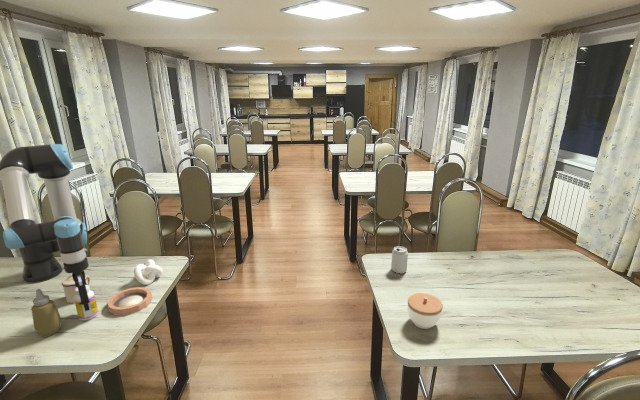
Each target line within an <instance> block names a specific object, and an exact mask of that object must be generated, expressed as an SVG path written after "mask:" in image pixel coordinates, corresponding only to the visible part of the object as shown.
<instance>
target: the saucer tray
mask: <svg viewBox="0 0 640 400" xmlns="http://www.w3.org/2000/svg"><path fill="white" fill-rule="evenodd" d="M152 300H153V296H152V292H151V290H150V289H149V288H147V287H141V286H140V287H139V286H137V287H130V288H126V289H124V290H121V291H119V292H117V293H115V294H114V295H112V296H111V297H110V298H109V299H108V301H107V308H108V310H109V313H111V314H112V315H114V316H128V315H132V314H135V313H138V312H140V311H142V310H144V309H145V308H147V307H148V306H149V305H150V304H151V303H152Z"/></svg>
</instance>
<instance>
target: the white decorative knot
mask: <svg viewBox="0 0 640 400" xmlns="http://www.w3.org/2000/svg"><path fill="white" fill-rule="evenodd" d="M163 274H164V271H163V268H162V267H161V266H159V265H157V264H156V262H155V261H154V260H153V259H151V258H150V259H147V260H145V261H144V263H143V264H142V263H139V264H137V265H135V267H134V269H133V275H134V277H135V279H136V281H138V282H139V283H140V284H142V285H144V286H147V285H151V284H153V282H154V281H155V278H156V279H157V278H160V277H161V276H163Z"/></svg>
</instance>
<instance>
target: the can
mask: <svg viewBox="0 0 640 400" xmlns="http://www.w3.org/2000/svg"><path fill="white" fill-rule="evenodd" d="M408 256H409V252H408V249H407V247H404V246H400V245H397V246H394V247H393V249H392V252H391V265H390V266H391V267H390V270H391V271H392V272H393V271H394V272H393V273H395V272H396V273H395V274H398V273H402V274H405V273H406V272H407V271H408V270H407V269H408V268H407V267H408V259H409V257H408Z"/></svg>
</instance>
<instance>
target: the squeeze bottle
mask: <svg viewBox="0 0 640 400" xmlns="http://www.w3.org/2000/svg"><path fill="white" fill-rule="evenodd" d="M35 292H36V293H35V298H34V299H33V300H32V303H33V305H32V306H31V316H32V322H33V328H34V330H35V331H36V332H37V333H38V334H39V335H40V336H41V337H50V336H53V335H55V334H57V333H58V332H60V329H61V325H62V317H61V315H60V313H59V310H58V308H57V305H56V303H55V301H54V300H52V299H50V296H49V295H47V294H45V293H44V291H42V289H40V288H38V289H36V290H35Z"/></svg>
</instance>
